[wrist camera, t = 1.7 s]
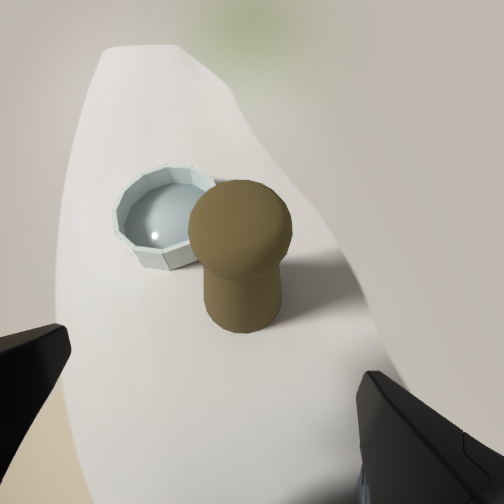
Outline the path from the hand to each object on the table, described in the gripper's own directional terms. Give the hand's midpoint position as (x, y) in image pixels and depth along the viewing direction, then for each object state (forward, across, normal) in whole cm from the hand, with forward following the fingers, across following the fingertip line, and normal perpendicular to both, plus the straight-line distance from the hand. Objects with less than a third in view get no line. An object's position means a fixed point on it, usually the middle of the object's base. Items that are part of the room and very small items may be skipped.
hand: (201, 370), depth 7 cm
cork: (+15, 0, +4) cm, 16 cm away
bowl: (+19, +7, 0) cm, 20 cm away
